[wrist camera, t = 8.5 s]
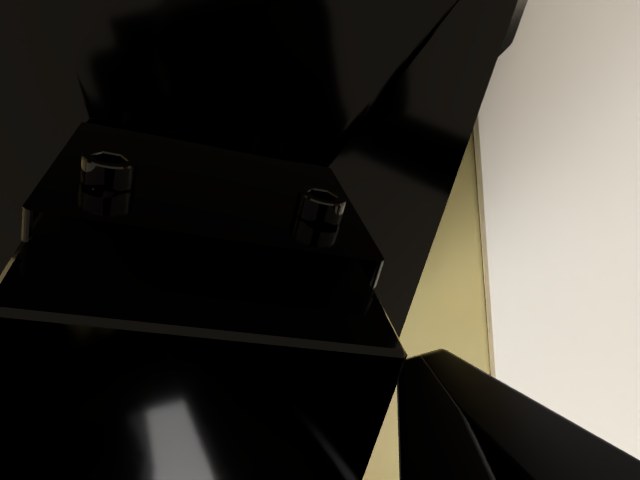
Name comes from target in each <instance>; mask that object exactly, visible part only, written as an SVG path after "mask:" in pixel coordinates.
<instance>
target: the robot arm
mask: <svg viewBox="0 0 640 480" xmlns="http://www.w3.org/2000/svg"><path fill="white" fill-rule="evenodd" d="M397 402H398V437H399V472H400V480H640V460H639V459H637V458H635V457H633V456H632V455H630V454H628V453H626V452H625V451H623V450H621V449H619V448H618V447H616V446H614V445H612V444H611V443H609V442H607V441H605V440H604V439H602V438H600V437H598V436H596V435H595V434H593V433H591V432H589V431H588V430H586V429H584V428H582V427H581V426H579V425H577V424H575V423H574V422H572V421H570V420H568V419H567V418H565V417H563V416H561V415H560V414H558V413H556V412H554V411H552V410H551V409H549V408H547V407H545V406H544V405H542V404H540V403H538V402H537V401H535V400H533V399H531V398H530V397H528V396H526V395H524V394H523V393H521V392H519V391H517V390H516V389H514V388H512V387H510V386H509V385H507V384H505V383H503V382H501V381H500V380H498V379H496V378H494V377H493V376H491V375H489V374H487V373H486V372H484V371H482V370H480V369H479V368H477V367H475V366H473V365H472V364H470V363H468V362H466V361H465V360H463V359H461V358H459V357H457V356H456V355H454V354H452V353H450V352H449V351H447V350H444V349H438V350H434V351H431V352H428V353H424V354H421V355H418V356H414V357H411V358H407V359H406V360H405V363H404V366H403V369H402V371H401V374H400V377H399V380H398V382H397Z"/></svg>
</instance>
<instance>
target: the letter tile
mask: <svg viewBox="0 0 640 480" xmlns="http://www.w3.org/2000/svg"><path fill="white" fill-rule="evenodd" d="M473 131H474V145H475V159H476V173H477V187H478V201H479V215H480V229H481V243H482V257H483V271H484V285H485V299H486V313H487V327H488V341H489V355H490V369H491V376H493V377H494V378H496V379H498V380H500V381H501V382H503V383H505V384H507V385H509V386H510V387H512V388H514V389H516V390H517V391H519V392H521V393H523V394H524V395H526V396H528V397H530V398H531V399H533V400H535V401H537V402H538V403H540V404H542V405H544V406H545V407H547V408H549V409H551V410H552V411H554V412H556V413H558V414H560V415H561V416H563V417H565V418H567V419H568V420H570V421H572V422H574V423H575V424H577V425H579V426H581V427H582V428H584V429H586V430H588V431H589V432H591V433H593V434H595V435H596V436H598V437H600V438H602V439H604V440H605V441H607V442H609V443H611V444H612V445H614V446H616V447H618V448H619V449H621V450H623V451H625V452H626V453H628V454H630V455H632V456H633V457H635V458H637V459H639V460H640V0H528V1H527V4H526V6H525V9H524V12H523V15H522V18H521V20H520V23H519V26H518V29H517V32H516V34H515V37H514V40H513V42H512V44H511V45H510V46H509V47H508V48H507V49H506V50H505V51H504V52H503V53H502V54H501V55H500V56H499V57H498V59H497V61H496V64H495V67H494V70H493V73H492V76H491V78H490V81H489V84H488V87H487V90H486V93H485V95H484V98H483V101H482V104H481V107H480V110H479V113H478V115H477V118H476V121H475V124H474V127H473Z"/></svg>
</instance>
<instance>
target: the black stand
mask: <svg viewBox="0 0 640 480" xmlns="http://www.w3.org/2000/svg"><path fill="white" fill-rule="evenodd" d="M527 1H528V0H0V480H362V479H363V476H364V473H365V470H366V468H367V465H368V462H369V459H370V457H371V454H372V451H373V448H374V446H375V443H376V440H377V437H378V435H379V432H380V429H381V426H382V424H383V421H384V418H385V415H386V413H387V410H388V407H389V404H390V402H391V399H392V396H393V393H394V391H395V388H396V385H397V382H398V380H399V377H400V374H401V371H402V369H403V366H404V363H405V360H406V358H407V353H406V351H405V349H404V347H403V345H402V343H401V341H400V339H399V337H400V334H401V331H402V328H403V325H404V322H405V320H406V317H407V314H408V311H409V308H410V305H411V303H412V300H413V297H414V294H415V291H416V288H417V286H418V283H419V280H420V277H421V274H422V271H423V269H424V266H425V263H426V260H427V257H428V254H429V252H430V249H431V246H432V243H433V240H434V237H435V235H436V232H437V229H438V226H439V223H440V220H441V217H442V215H443V212H444V209H445V206H446V203H447V200H448V198H449V195H450V192H451V189H452V186H453V183H454V181H455V178H456V175H457V172H458V169H459V166H460V164H461V161H462V158H463V155H464V152H465V149H466V147H467V144H468V141H469V138H470V135H471V132H472V130H473V127H474V124H475V121H476V118H477V115H478V113H479V110H480V107H481V104H482V101H483V98H484V95H485V93H486V90H487V87H488V84H489V81H490V78H491V76H492V73H493V70H494V67H495V64H496V61H497V59H498V57H499V56H500V55H501V54H502V53H503V52H504V51H505V50H506V49H507V48H508V47H509V46H510V45H511V44H512V42H513V40H514V37H515V34H516V32H517V29H518V26H519V23H520V20H521V18H522V15H523V12H524V9H525V6H526V4H527Z"/></svg>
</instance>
